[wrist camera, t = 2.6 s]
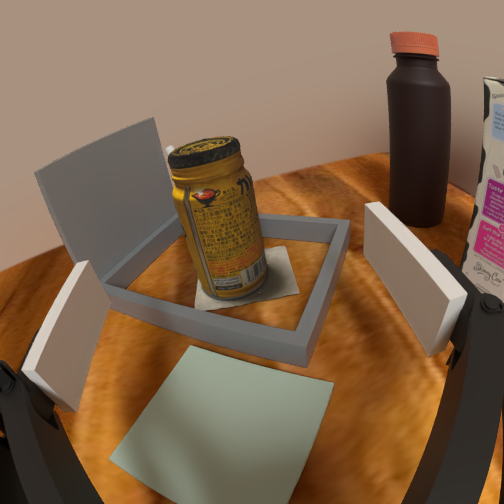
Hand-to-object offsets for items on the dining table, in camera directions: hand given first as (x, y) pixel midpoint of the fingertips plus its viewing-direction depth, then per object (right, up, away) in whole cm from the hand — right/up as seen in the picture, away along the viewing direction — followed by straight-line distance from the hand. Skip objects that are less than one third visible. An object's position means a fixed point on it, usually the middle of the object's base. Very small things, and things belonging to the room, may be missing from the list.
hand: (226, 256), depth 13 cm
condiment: (+1, -2, +13) cm, 13 cm away
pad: (-1, -10, +1) cm, 10 cm away
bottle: (+20, +4, +17) cm, 27 cm away
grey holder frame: (-1, -2, +14) cm, 14 cm away
